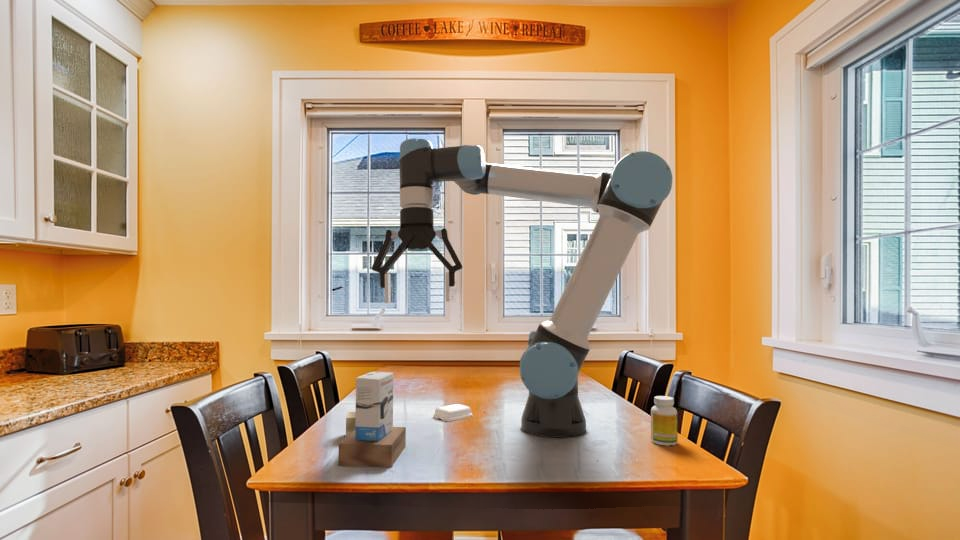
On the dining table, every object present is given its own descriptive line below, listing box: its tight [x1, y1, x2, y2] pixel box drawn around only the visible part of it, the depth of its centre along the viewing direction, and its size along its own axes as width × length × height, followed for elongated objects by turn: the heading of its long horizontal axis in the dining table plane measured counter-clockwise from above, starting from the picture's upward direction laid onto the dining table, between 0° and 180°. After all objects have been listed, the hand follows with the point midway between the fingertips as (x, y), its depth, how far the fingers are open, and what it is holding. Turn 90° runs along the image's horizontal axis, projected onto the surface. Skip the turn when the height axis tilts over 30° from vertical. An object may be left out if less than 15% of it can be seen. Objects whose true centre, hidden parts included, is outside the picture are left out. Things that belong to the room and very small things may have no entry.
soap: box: [432, 403, 473, 423], centre depth 127 cm, size 9×7×3 cm
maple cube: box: [345, 411, 356, 438], centre depth 109 cm, size 5×5×5 cm
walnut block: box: [337, 426, 407, 468], centre depth 96 cm, size 10×12×4 cm
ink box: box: [355, 371, 395, 441], centre depth 97 cm, size 8×5×12 cm, turn 170°
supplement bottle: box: [650, 395, 679, 447], centre depth 106 cm, size 5×5×10 cm
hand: (418, 302), depth 110 cm, fingers open, 13 cm apart
